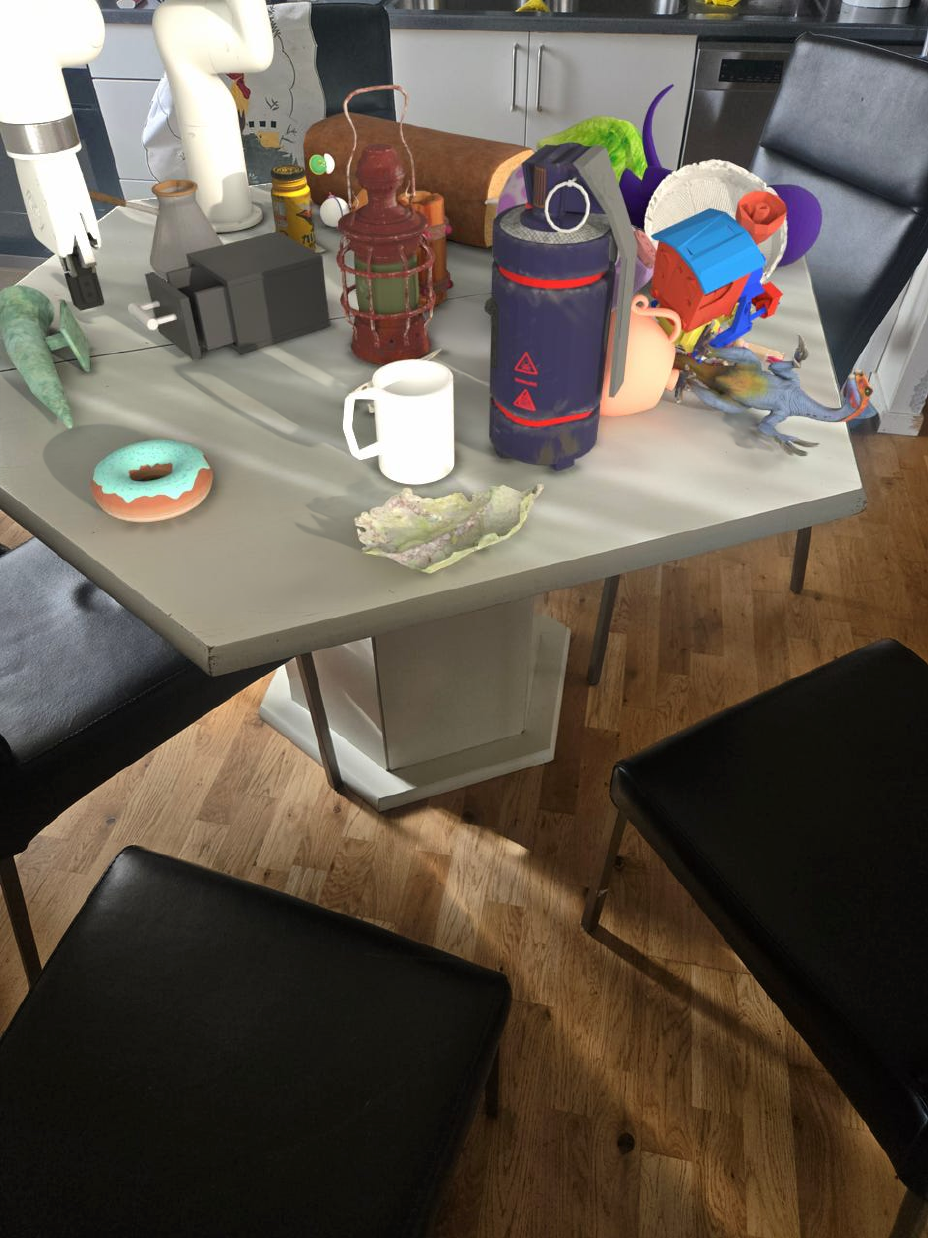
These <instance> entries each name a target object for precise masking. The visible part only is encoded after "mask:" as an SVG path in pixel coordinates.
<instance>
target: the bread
mask: <svg viewBox="0 0 928 1238" xmlns="http://www.w3.org/2000/svg"><path fill="white" fill-rule="evenodd" d="M348 114H349V117H350V119H351V121H352V124H353V126H354V128H355V131H356V136H357V140H356V147H355V151H354V154H353V157H352V160H351V164H350V174H349V176H350V192H351V205H352V204H353V202H354V200H355V198H354V196H353V193H352V190H353V192H354V195H355V196H357V195H358V193H359V192H360V191H361V190H362V187H361V186H360V185H359V183H358V179H357V178H356V176H355V172H356V171H357V162H358V160H359V159H360V158H361V155H362V150H363V149H364V148H365V147H366V146H367V145H370V144H388V145H391V146H392V147H393V148H394V149H395V150H396V152H397V156H398V157H399V158H400V159H401V160H402V164H403V169H404V170H405V172H406V174H405V177H404V178H403V183H402V185H401V186H400V187H399V188H397V190H396V198H397V197H398V196H399V195H401V194H403V193H404V192H405V190H406V188H407V186H408V182H409V180H410V186H409V188H408V190H407V193H409V194H412V182H411V163H410V157H409V155H408V153H407V151H406V149H405V146H404V144H403V142H402V140H401V136H400V121H394V120H390V119H386V118H380V117H375V116H371V115H367V114H361V113H357V112H352V111H351V112H350V111H348ZM402 133H403V138H404V140H405V142H406V144H407V146H408V148H409V150H410V152H411V154H412V158H413V162H414V177H415V191H426V192H429V193H431V194H435V193H438V194H439V195H441V196H442V197H443V199H444V214H445V216H446V217H447V218H448V220H449V225H450V226H451V228H452V232H451V233H450V234H448V235H447V236H446V240H451V241H454V242H457V243H462V244H465V245H469V246H474V247H479V248H483V249H488V248H491V247H492V242H493V220H494V219H495V217H496V210H497V207H495V206H494V205H492V204H485V202H486V200H488V199H489V198H497V199H499V197H500V194H501V192H502V190H503V188H504V186H505V183H506V181H507V179H508V178H509V176H510V175H511V173H512V172H513V171H514V170H515V169H516V168H518V167H519V166H520V165H521V163H523V162H524V161H525V160H526V159H528V158H529V157H530V156H532V155H533V154H534V153H535V152H536V151H535V150H534V149H533V148H532V147H529V146H525V145H520V144H516V143H512V142H511V143H510V142H503V141H498V140H493V139H486V138H480V137H475V136H470V135H464V134H458V133H453V132H447V131H444V130H439V129H435V128H429V127H424V126H418V125H414V124H411V123H405V122H402ZM353 146H354V133H353V129H352V127H351V125H350V123H349V121H348V119H347V116H346V114H345V111H343V112H339V113H336V114H333V115H330V116H328V117H326V118H323V119H321V120H319V121H316V122H315V123H313V124H311V126H309V128H308V129H307V130H306V131H305V134H304V138H303V143H302V149H303V150H302V151H303V164H304V170H305V172H306V173H305V174H306V180H307V183H306V184H307V185H308V187H309V189H310V195H311V203H312V204H313V205H317V206H320V207H321V206H322V204H323V203H324V202H325V201H326V200H327V198H328V197H329V196H330V194H332V195H333V196H335V197H337V198H341V199H343V200H344V201H345V202H346V203H347V205H348V191H347V179H346V171H347V163H348V161H349V158H350V155H351V152H352V149H353ZM534 151H535V152H534ZM324 154H329V155H330V156H331V157H332V158H333V160H334V163H335V167H334V170H333V171H332V172H331V173H330V174H327V173H326V171H325V172H324V173H323V174H320V175H318V174H315V173H314V172H313V171H312V170H311V168H310V165H309V162H310V159H311V157H312V156H314V155H320V156H322V157H323V158H324ZM329 192H331V193H329ZM350 210H351V208H349V211H350Z"/></svg>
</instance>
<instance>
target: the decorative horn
mask: <svg viewBox="0 0 928 1238" xmlns="http://www.w3.org/2000/svg"><path fill="white" fill-rule="evenodd" d="M55 315H56V314H55V308H54V305H53V303H52V301H51V300H50V299H49V297H47V296H46V295H45V294H44V293H43V292H41V291H39V290H38V289H36V288H33V287H30V286H27V285H19V284H16V285H9V286H7V287H4V288H2V290H0V333H1V337H2V340H3V343H4V347H5V350H6V353H7V356H8V358H9V360H10V361H11V362H12V363H13V365H14V366H15V368H16V370H17V371H18V373H19V374H20V376H21V377H22V379H23V381H24V382H25V383H26V385H27V386H28V388H29V390H30V392H31V393H32V395H34V396H35V397H36V398H37V399H38V401H40V402H41V403H42V404H43V405H44V406H45V407H46V408H48V409H49V410H50V411H51V412H52V413H53V414H55V415H56V416H57V418H59V419H60V421H61V422H62V423H63V424H64V427H66V429H68V430H70V429H72V428H73V426H74V422H73V416H72V410H71V407H70V405H69V404H70V403H69V401H68V399H67V396H66V393H65V390H64V387H63V385H62V383H61V380H60V377H59V374H58V371H57V368H56V366H55V362H54V359H53V355H52V352H53V351H56V350H58V349H63V348H65V347H69V348H70V349H71V351H72V352H73V355H74V356H75V357H76V360H77V361H78V363H79V364H80V366H81V367H82V370H83V371H85V372H86V373H87V372H90V371H91V362H90V361H91V360H90V358H91V356H90V355H91V354H90V352H91V351H90V350H91V349H90V346H91V345H90V342H89V340H88V338H87V337H86V335H85V333H84V331H83V330H82V328H81V325H80V324H79V323H78V321H77V319H76V317H75V316H74V314H73V312H72V311H71V309H70V307H69V305H68V303H67V302H66V300H65V299H61V300H60V302H59V325H58V326H59V327H58V329H59V331H60V332H59V333H55V334H52V335H50V326H51V325H52V324H53V322H54V319H55Z"/></svg>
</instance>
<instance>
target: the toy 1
mask: <svg viewBox="0 0 928 1238" xmlns="http://www.w3.org/2000/svg"><path fill="white" fill-rule="evenodd" d="M309 165H310V168H311V170H312V171H313V172H314V173H315V174H318V175H320V174H323V173H324V172H325V171H326V173H327V174H330V173H331V172H332V171H333V170H334V167H335V163H334V160H333V158H332V157H331V156H330V155H329V154H324V158H323V157H322V156H320V155H314V156H312V157H311V159H310V162H309ZM329 193H331V192H329ZM347 213H350V211H349V207H348V205H347V203H346V202H345V201H344V200H343V199H341V198H337V197H335V196H333V195H332V194H330V196H329V197H328V198H327V200H326V201H325V202H324V203H323V204H322V206H320V207H319V210H318V216H319V219H320V220H321V222H322V223H323V224H324V225H325V226H328V227H331V228H335V229H336V230H338V231H339V228H338V221H339V219H340V218H341V217H342V216H344V215H345V214H347ZM339 233H341V232H340V231H339Z"/></svg>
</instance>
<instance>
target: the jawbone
mask: <svg viewBox="0 0 928 1238" xmlns="http://www.w3.org/2000/svg"><path fill="white" fill-rule="evenodd" d="M441 351H442V349H441V348H438V349H436V350H435V351H433V352H431V353H429V354H426V355H424V356H423V357H421V358H419V360H428V361H431V360H432V359H433V358H434V357H435V356H436V355H438V354H439V353H440V352H441ZM364 387H366V388H365V389H368V388H372V387H373V385H372V378H371V379H370V380H368V381H367V382H365V383H364V384H362V385H360V386H358V387H357V388H356V389H353V390H352V391H351V392H349V393H348V395H347V397H348V396H349V395H350V394H351V393H353V392H357V391H361V390H363V388H364ZM357 400H358V399H354V404H355V403H356V401H357ZM367 406H368V412H369V413H370V414H375V410H374V402H371V403H370V402H369V403H367Z"/></svg>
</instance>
